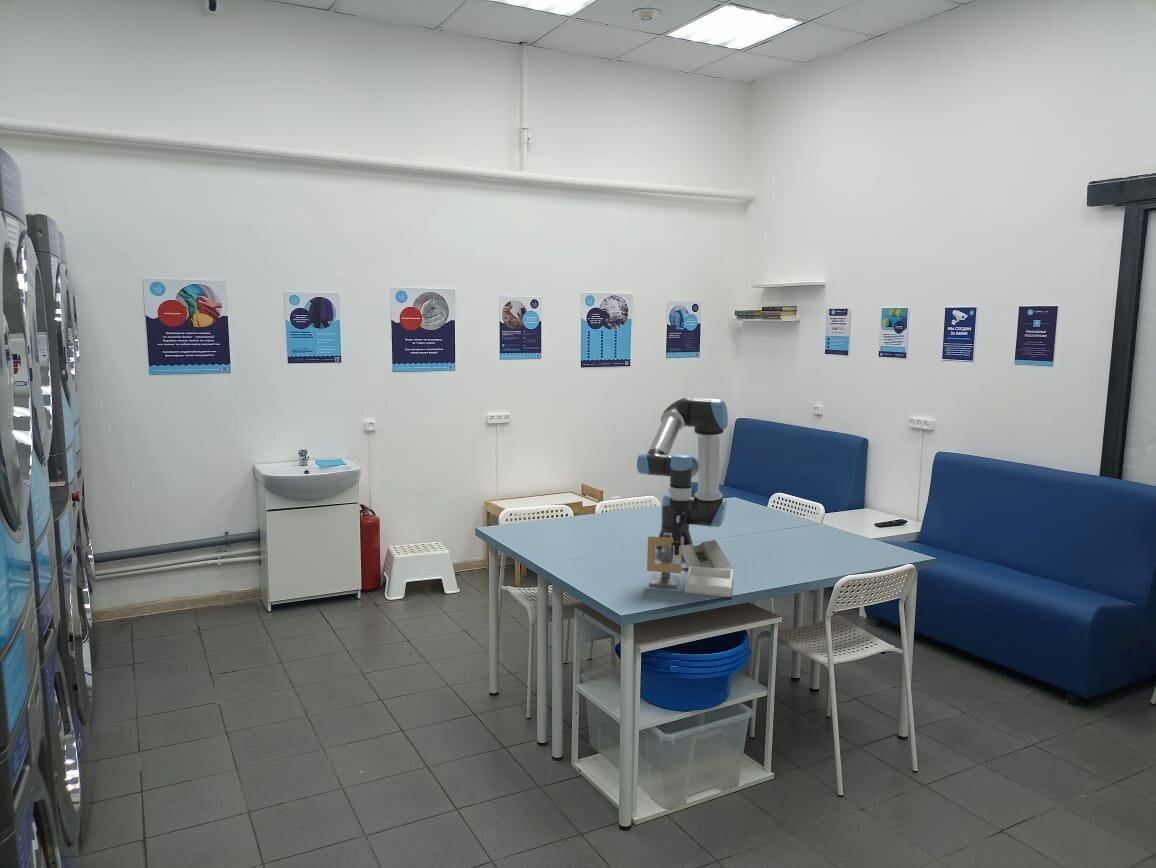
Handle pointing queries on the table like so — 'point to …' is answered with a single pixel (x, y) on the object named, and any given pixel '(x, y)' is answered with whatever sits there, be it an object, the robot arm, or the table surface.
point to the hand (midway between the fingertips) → (678, 558)
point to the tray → (709, 581)
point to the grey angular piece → (705, 555)
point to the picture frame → (651, 556)
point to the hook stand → (665, 577)
